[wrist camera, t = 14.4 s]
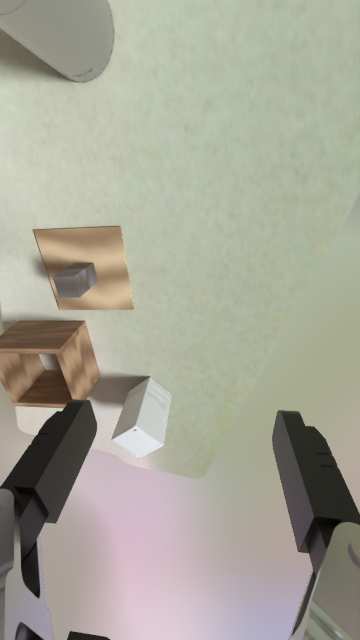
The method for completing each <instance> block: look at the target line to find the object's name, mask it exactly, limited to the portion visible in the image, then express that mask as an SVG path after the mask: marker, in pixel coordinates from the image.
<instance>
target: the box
mask: <svg viewBox="0 0 360 640" xmlns="http://www.w3.org/2000/svg"><path fill="white" fill-rule="evenodd" d="M39 354H56V356H57V359H58V361H59V364H60V367H61V369H62V371H48V370H45V369H44V366H43V364H42V362H41V359H40V357H39ZM99 376H100V373H99V369H98V365H97V362H96V358H95V355H94V351H93V348H92V344H91V341H90V337H89V334H88V330H87V327H86V323H85V321H20V322H18V323H17V324H15V325H14V326H13V327H11V328H10V329H9V330H7V331H6V332H5V333H3V334H2V335H1V336H0V380H1V382H2V384H3V386H4V388H5V390H6V391H7V393H8V395H9V397H10V399H11V400H12V402H13V404H14V406H25V407H49V408H65V406H66V405H67V403H68V402H69V401H70V400H71V399H78V400H86V399H87V398H88V396H89V394H90V392H91V391H92V389H93V387H94V385H95V384H96V382H97V380H98V378H99Z"/></svg>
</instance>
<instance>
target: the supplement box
mask: <svg viewBox="0 0 360 640" xmlns="http://www.w3.org/2000/svg"><path fill="white" fill-rule="evenodd" d="M171 396H172V395H171V394H170V393H169V392H168V391H166V390H165V389H164V388H163V387H162V386H160V385H159V384H158V383H157V382H156V381H154V380H153V379H152V378H151V377H149V378H147V379H146V380H144V381H143V382H141V383H140V384H138V385H137V386H135V387H134V388H132V389H131V390H130V391H129V393H128V396H127V398H126V401H125V404H124V406H123V409H122V412H121V415H120V417H119V420H118V423H117V426H116V428H115V431H114V434H113V437H112V439H111V440H112V441H113V442H115V443H116V444H118V445H119V446H121V447H122V448H124V449H125V450H127V451H128V452H130V453H131V454H132V455H134V456H135V457H137V458H140V457H142V456H144V455H146V454H148V453H150V452H152V451H154V450H156V449H158V448H160V447H162V446H164V440H165V433H166V427H167V421H168V415H169V409H170V402H171Z"/></svg>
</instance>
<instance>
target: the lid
mask: <svg viewBox="0 0 360 640" xmlns="http://www.w3.org/2000/svg"><path fill="white" fill-rule="evenodd" d="M34 233H35V236H36V239H37V242H38V245H39V248H40V251H41V254H42V258H43V261H44V264H45V267H46V270H47V273H48V276H49V279H50V282H51V285H52V288H53V291H54V294H55V297H56V300H57V303H58V306H59V309H60V310H133V309H134V307H133V301H132V295H131V289H130V283H129V276H128V270H127V264H126V258H125V252H124V245H123V239H122V233H121V227H120V226H112V227H89V228H65V229H42V230H34Z"/></svg>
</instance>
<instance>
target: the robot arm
mask: <svg viewBox="0 0 360 640" xmlns="http://www.w3.org/2000/svg"><path fill="white" fill-rule="evenodd" d="M0 29H1V30H3V31H4V32H5V33H7V34H8V35H9V36H11V37H12V38H13V39H15V40H16V41H17V42H19V43H20V44H21V45H23V46H24V47H25V48H27V49H28V50H29V51H31V52H32V53H33V54H35V55H36V56H37V57H39V58H40V59H42V60H43V61H44V62H45V63H47V64H48V65H50V66H51V67H52V68H54V69H55V70H56V71H58V72H59V73H60V74H62V75H63V76H65V77H67V78H68V79H70V80H73V81H76V82H87V81H90V80H93V79H94V78H96V77H97V76H99V75H100V74H101V72H102V71H103V70H104V69H105V67H106V65H107V64H108V62H109V59H110V56H111V53H112V48H113V41H114V28H113V20H112V15H111V11H110V8H109V4H108V2H107V0H0ZM96 431H97V422H96V419H95V415H94V412H93V409H92V406H91V403H90V401H89V400H78V399H71V400H70V401H69V402H68V403H67V405H66V406H65V408H64V409H63V411H57V412H56V413H55V414H54V415H53V416H51V417H50V418H49V419H48V420H47V421H46V422H45V423H44V425H43V426H42V428H41V429H40V431H39V432H38V435H36V436H35V438H34V439H33V441H32V443H31V445H29V447H28V448H27V450H26V451H25V452H24V454H23V455H22V457H21V458H20V460H19V461H18V463H17V464H16V465H15V467H14V468H13V470H12V471H11V473H10V474H9V476H8V477H7V479H6V480H5V481H4V483H3V484H2V485H1V487H0V640H54V632H53V625H52V619H51V615H50V612H49V609H48V606H47V602H46V596H45V584H44V572H43V560H42V548H41V536H40V531H41V529H42V527H43V525H44V523H45V522H46V523H56V522H57V520H58V518H59V515H60V513H61V511H62V509H63V507H64V505H65V502H66V500H67V498H68V496H69V493H70V491H71V489H72V487H73V485H74V482H75V480H76V478H77V476H78V474H79V471H80V469H81V467H82V464H83V462H84V460H85V458H86V456H87V454H88V451H89V449H90V447H91V445H92V443H93V440H94V438H95V435H96ZM272 442H273V450H274V454H275V458H276V462H277V467H278V471H279V474H280V479H281V483H282V487H283V491H284V495H285V499H286V504H287V508H288V512H289V516H290V520H291V524H292V528H293V532H294V536H295V540H296V545H297V549H298V552H303V553H309V555H310V559H311V562H312V566H313V569H312V572H311V575H310V578H309V580H308V583H307V586H306V589H305V592H304V595H303V598H302V601H301V604H300V607H299V610H298V613H297V616H296V619H295V622H294V625H293V627H292V630H291V633H290V636H289V639H288V640H360V514H359V512H358V509H357V507H356V505H355V503H354V501H353V498H352V496H351V494H350V492H349V490H348V488H347V485H346V483H345V481H344V479H343V477H342V474H341V473H340V470H339V469H338V467H337V463H336V461H335V459H334V457H333V456H332V453H331V451H330V448H329V446H328V444H327V442H326V439H325V438H324V437H323V436H322V435H321V434H320V433H319V431H318V430H317V429H316V428H315V427H311V426H305V424H304V422H303V419H302V417H301V415H300V413H299V412H298V411H282V410H279V411H278V412H277V416H276V421H275V425H274V431H273V436H272ZM67 640H110V639H108V638H107V637H103V636H97V635H91V634H84V633H79V632H72V631H70V633H69V636H68V639H67Z"/></svg>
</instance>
